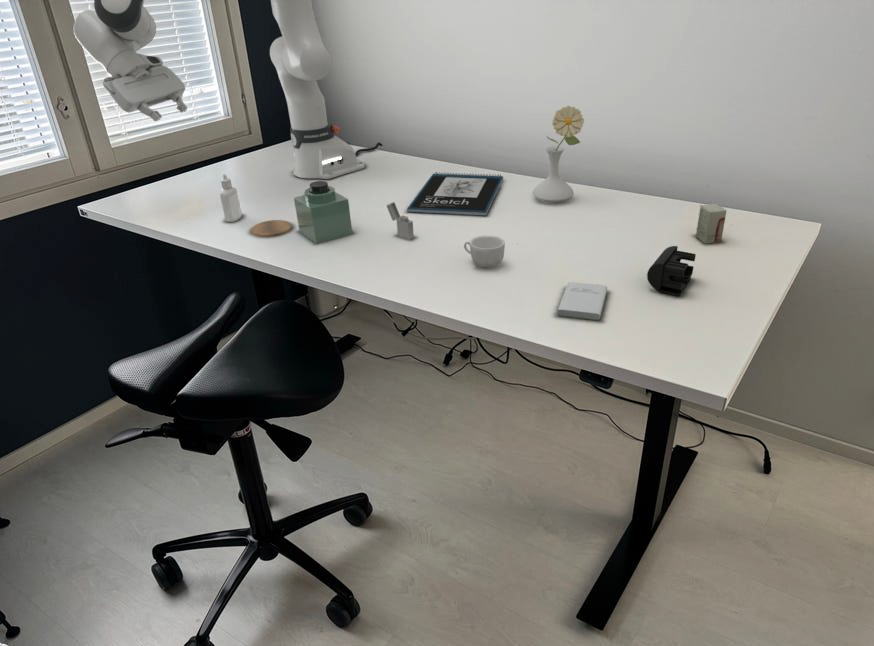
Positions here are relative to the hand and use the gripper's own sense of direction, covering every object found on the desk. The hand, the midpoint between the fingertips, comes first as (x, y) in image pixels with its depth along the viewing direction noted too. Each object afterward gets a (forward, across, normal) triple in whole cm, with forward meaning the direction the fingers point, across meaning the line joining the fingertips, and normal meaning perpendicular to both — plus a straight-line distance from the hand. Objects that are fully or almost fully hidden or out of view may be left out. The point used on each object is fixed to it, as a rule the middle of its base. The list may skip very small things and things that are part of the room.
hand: (172, 114), depth 171 cm
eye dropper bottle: (+28, 0, +10) cm, 29 cm away
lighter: (+62, +3, -24) cm, 66 cm away
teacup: (+79, -6, -42) cm, 90 cm away
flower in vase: (+83, +39, -46) cm, 102 cm away
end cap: (+108, -5, -71) cm, 129 cm away
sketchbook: (+64, +34, -26) cm, 77 cm away
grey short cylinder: (+40, -1, -18) cm, 44 cm away
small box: (+112, +23, -75) cm, 137 cm away
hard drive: (+98, -19, -60) cm, 116 cm away
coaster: (+38, -4, 0) cm, 38 cm away
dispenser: (+48, -1, -11) cm, 49 cm away
